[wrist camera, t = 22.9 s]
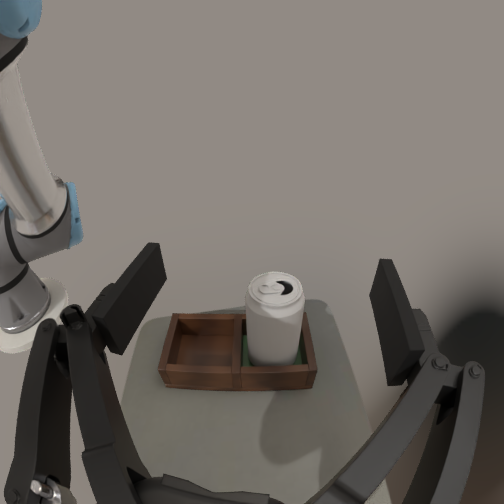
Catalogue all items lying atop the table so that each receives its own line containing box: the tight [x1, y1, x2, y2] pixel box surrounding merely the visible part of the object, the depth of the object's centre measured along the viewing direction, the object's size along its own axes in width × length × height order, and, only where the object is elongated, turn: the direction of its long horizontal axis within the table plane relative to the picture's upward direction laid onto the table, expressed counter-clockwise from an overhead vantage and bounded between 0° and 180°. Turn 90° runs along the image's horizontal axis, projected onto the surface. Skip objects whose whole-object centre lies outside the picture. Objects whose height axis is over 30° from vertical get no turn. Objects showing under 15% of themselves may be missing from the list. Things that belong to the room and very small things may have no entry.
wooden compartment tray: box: [158, 312, 317, 391], centre depth 35 cm, size 19×10×4 cm, turn 90°
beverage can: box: [245, 272, 305, 366], centre depth 32 cm, size 6×6×12 cm
